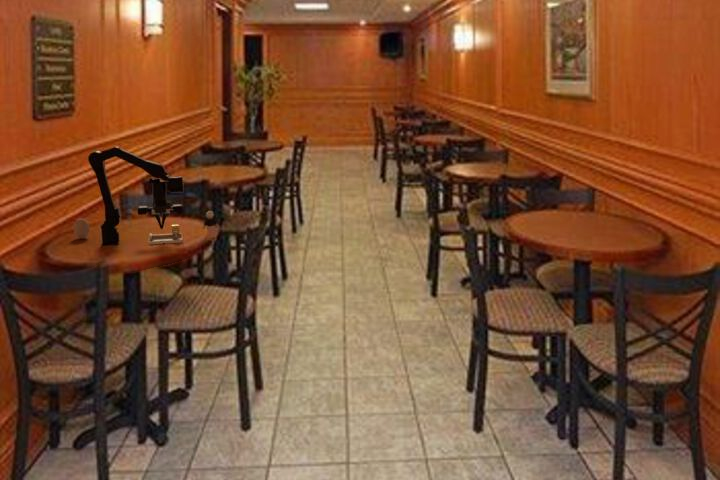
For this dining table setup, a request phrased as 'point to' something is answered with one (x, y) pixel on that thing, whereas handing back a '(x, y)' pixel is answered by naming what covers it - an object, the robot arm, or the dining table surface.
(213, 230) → the grandmother figurine
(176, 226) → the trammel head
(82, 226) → the egg
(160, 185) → the robot arm
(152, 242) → the gauge board
